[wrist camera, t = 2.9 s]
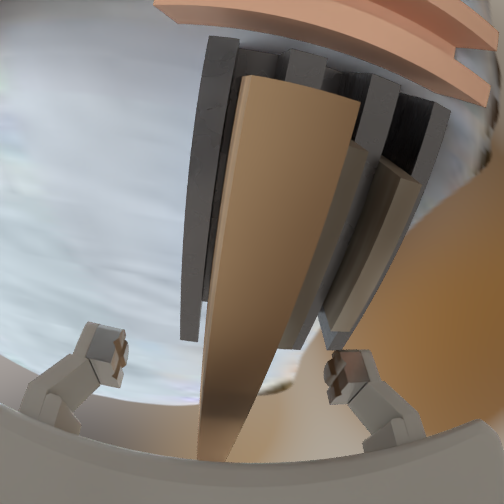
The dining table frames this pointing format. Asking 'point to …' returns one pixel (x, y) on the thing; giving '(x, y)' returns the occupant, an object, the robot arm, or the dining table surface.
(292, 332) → the offcut
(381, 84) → the rack
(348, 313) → the offcut
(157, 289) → the dining table surface
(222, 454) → the tall sheet
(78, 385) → the robot arm
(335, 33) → the holder
